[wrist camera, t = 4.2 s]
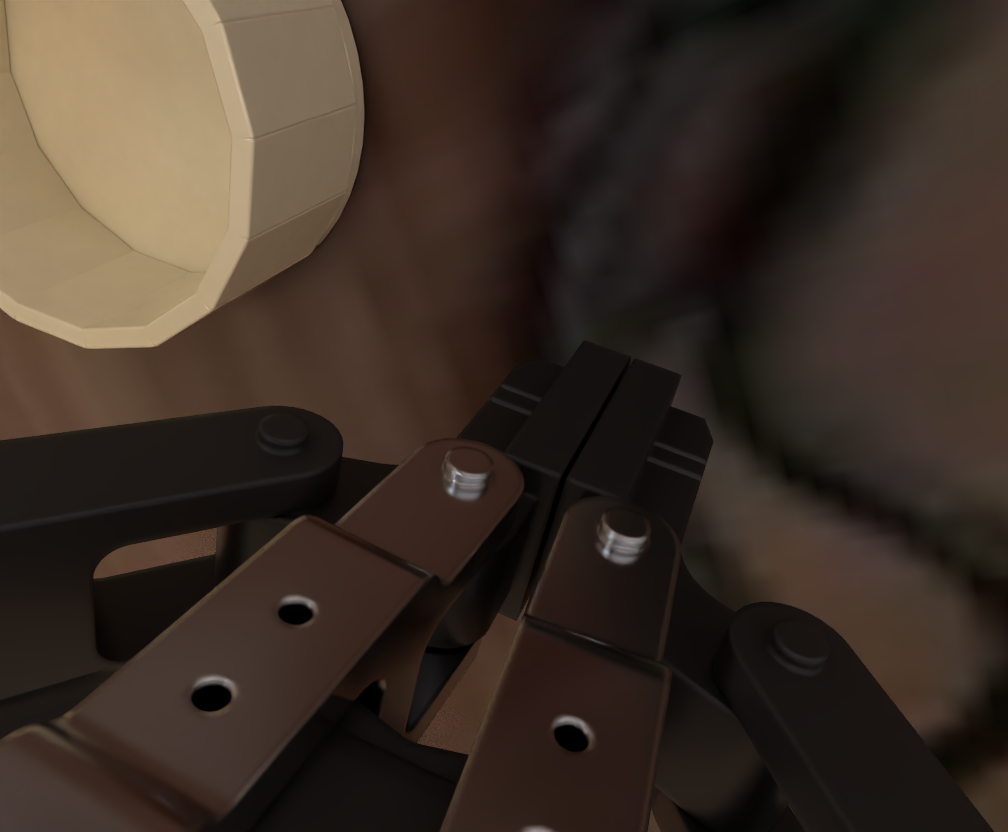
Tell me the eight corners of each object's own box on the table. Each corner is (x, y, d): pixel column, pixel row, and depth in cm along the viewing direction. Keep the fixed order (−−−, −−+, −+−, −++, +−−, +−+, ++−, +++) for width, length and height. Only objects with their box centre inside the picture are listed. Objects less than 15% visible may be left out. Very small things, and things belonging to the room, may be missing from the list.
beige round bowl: (-13, -213, 20) (-218, -244, 16) (394, -103, 18) (267, -111, 14) (24, 215, 25) (-124, 265, 21) (340, 334, 23) (238, 411, 19)
